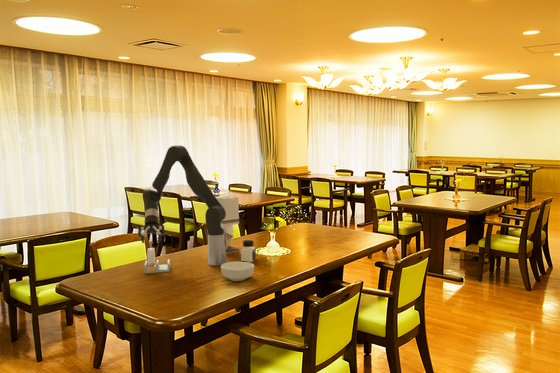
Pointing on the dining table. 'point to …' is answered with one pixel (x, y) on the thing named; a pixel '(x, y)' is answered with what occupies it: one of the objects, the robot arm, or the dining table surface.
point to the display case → (229, 220)
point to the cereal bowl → (237, 270)
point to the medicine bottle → (248, 251)
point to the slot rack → (157, 267)
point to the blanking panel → (151, 257)
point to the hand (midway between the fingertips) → (151, 242)
